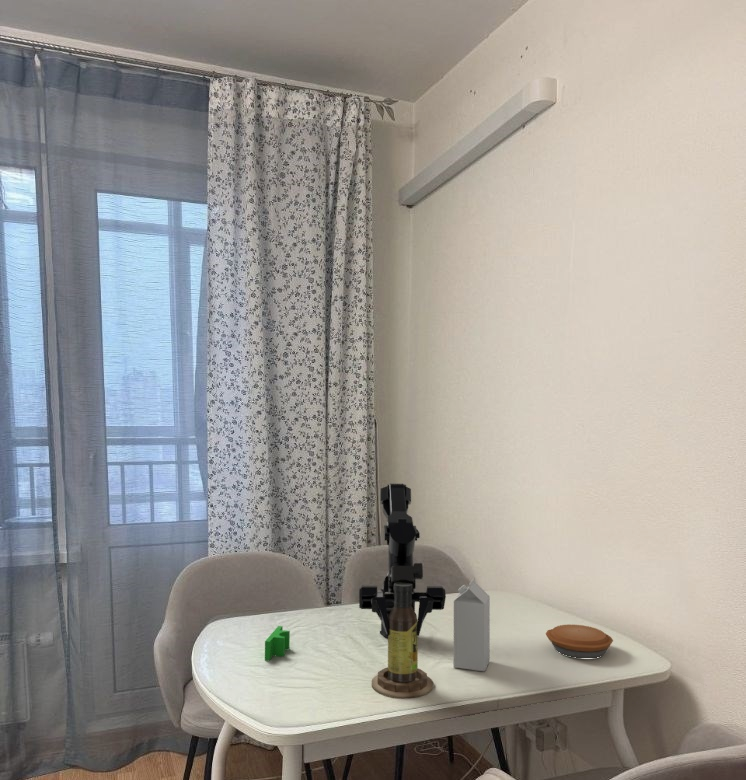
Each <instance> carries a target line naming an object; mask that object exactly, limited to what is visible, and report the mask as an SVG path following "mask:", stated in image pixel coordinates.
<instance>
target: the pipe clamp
mask: <svg viewBox="0 0 746 780" xmlns="http://www.w3.org/2000/svg"><path fill="white" fill-rule="evenodd" d="M290 633H291V632H290V630H283V625H282V626H281V625H280V626H279V625H278V626H277V627H276V628H275V629H274V630H273V632H271V634H270V635H269V636H268V637H267V638H266V639H265V640H264V661H268V660H269V661H270V660H271V659H272V658H273V657H283V656H284V657H285V654H286V653H285V651H286V650H285V649H289V650H290V636H291V634H290ZM273 655H274V656H273ZM275 655H276V656H275ZM272 656H273V657H272ZM271 657H272V658H271Z"/></svg>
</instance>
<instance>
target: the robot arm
mask: <svg viewBox="0 0 746 780" xmlns="http://www.w3.org/2000/svg"><path fill="white" fill-rule="evenodd" d="M379 493H380V494H379V505H382V514H383V515H384V516H385V518H386V525H383V541H386V545H387V546H388V548H387V549H388V550H387V551H388V559H387V561H388V572H387V575H386V576H385V578H384V579H383V582H382V588H380V590H379V589H378V585H361V586H360V587H359V589H358V590H359V591H358V593H359V595H358V599H359V600H358V601H359V603H358V604H359V607H358V608H359V609H361V610H371V612H372V613H376V615H377V616H378V618H379V620H380V623H381V624H380V630H379V634H380V635H382V636H383V637H385V638H387V639H388V635H389V614H390V612H391V610H392V609H393V607H394V590H393V587H394V583H395V582H409V583H412V587H413V589H412V605H411V606H412V608H413V609H414V611H415V612H416V610H415V609H416V603H417V602H418V604H419V605H418V612H417V636H418V637H419V636H420V634H421V631H422V627H423V623H424V621H425V618H426V617H427V614H430V613H432V612H433V610H437V611H441V610H443V609H445V604H446V599H447V597H446V589H445V588H444V587H443V586H441V585H440V586H439V585H435V586H434V585H433V586H432V585H428V586H426V589H425V590H426V591H425V592H424V591H423V592H422V591H421V592H420V591H419V592H417V591H415V589H416V587H417V585H416V580H423V577H424V572H423V571H424V569H423V563H422V562H414V552H415V543H416V541H418V539H420V537H421V535H420V532H419V531H420V530H418V529H417V526H416V525H414V521H413V517H412V516H410V515H409V514H408V512H409V511H408V509H409V506H410V505H411V503H412V488H410V487H408V486H407V484H404V483H389V484H387V485H386V486H384V487H381V488H380V491H379Z"/></svg>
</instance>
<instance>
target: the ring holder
mask: <svg viewBox="0 0 746 780" xmlns="http://www.w3.org/2000/svg"><path fill="white" fill-rule="evenodd" d="M388 673H389V670H388V666H387V667H385V668H382V669H380V670H378V672H377V674H376V675H374V677H373V678H372V679H371V687H372V689H373V690H374V691H375V692H376V693H378V694H380V695H382V696H385V695H386V696H385V697H389V696H390V697H389V698H394V697H395V699H412V698H413V699H414V698H419V697H422V696H425V695H428V694H430V692H432V690H433V688H434V681H433V679H432V678H431V677H429V676H428V673H426V672H425V671H424V670H422V669H421V668H418V670H417V677H416V679H415V680H414V681H412V682H408V683H396V682H393V681H391V680H390V679H389V674H388Z"/></svg>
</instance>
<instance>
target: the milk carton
mask: <svg viewBox="0 0 746 780" xmlns="http://www.w3.org/2000/svg"><path fill="white" fill-rule="evenodd" d="M457 592H458V593H459V594H458V595H457V596H456V598H455V599H454V600H453V663H452V664H453V668H456V669H463V670H471V671H478V672H479V671H480V672H485V671H486V670H487V667H488V666H489V663H490V661H491V660H490V658H491V657H490V651H491V650H490V647H491V646H490V645H491V643H490V640H491V639H490V633H491V632H490V630H491V629H490V628H491V627H490V626H491V625H490V624H491V623H490V621H491V620H490V618H491V617H490V616H491V614H490V612H491V611H490V609H491V608H490V607H491V606H490V605H491V601H490V599H491V598H490V597H491V596H490V595H489V593H487V592H486V591H485V590H484V589H483V588H482V587H481V586H480V585H479V584H478V583H477V582H476V577H473V578H472V579H471V581H470V582H469V583H468V586H466V584H462V585H461V586H460V587H459V588H458V589H457Z"/></svg>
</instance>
